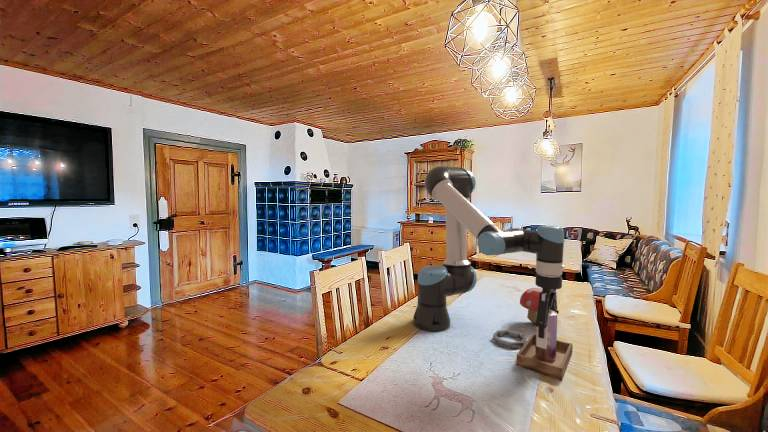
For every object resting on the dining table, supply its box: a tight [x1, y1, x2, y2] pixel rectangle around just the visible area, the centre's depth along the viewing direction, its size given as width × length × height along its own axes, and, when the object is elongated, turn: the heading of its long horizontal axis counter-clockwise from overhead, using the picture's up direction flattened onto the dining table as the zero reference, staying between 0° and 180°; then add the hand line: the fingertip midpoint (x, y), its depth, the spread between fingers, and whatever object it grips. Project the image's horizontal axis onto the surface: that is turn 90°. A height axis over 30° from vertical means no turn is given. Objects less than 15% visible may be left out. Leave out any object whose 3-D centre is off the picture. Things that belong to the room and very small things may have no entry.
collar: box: [492, 329, 528, 350], centre depth 115 cm, size 10×10×2 cm
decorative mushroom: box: [519, 287, 543, 324], centre depth 131 cm, size 13×13×15 cm
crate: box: [515, 333, 574, 381], centre depth 103 cm, size 13×20×4 cm, turn 142°
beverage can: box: [535, 310, 558, 361], centre depth 102 cm, size 6×6×15 cm
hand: (546, 339), depth 102 cm, fingers open, 13 cm apart
